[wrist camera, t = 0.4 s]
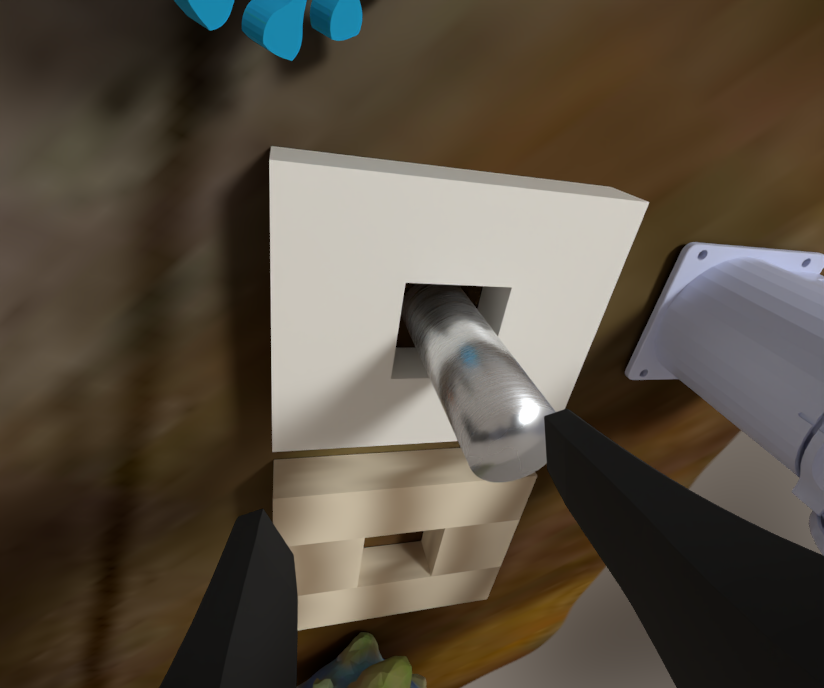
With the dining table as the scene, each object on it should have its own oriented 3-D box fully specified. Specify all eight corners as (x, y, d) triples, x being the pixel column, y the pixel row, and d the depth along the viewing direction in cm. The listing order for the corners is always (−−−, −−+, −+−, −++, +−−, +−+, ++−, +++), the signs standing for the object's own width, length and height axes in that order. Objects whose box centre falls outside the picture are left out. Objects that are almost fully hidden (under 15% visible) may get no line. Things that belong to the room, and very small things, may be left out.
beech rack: (518, 444, 27) (537, 476, 25) (474, 565, 33) (487, 599, 31) (273, 459, 23) (272, 499, 21) (274, 593, 29) (274, 634, 27)
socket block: (610, 186, 19) (649, 202, 17) (532, 404, 25) (554, 435, 23) (271, 146, 16) (269, 159, 14) (273, 414, 22) (272, 452, 20)
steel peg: (470, 277, 20) (577, 404, 13) (457, 335, 22) (546, 478, 14) (406, 274, 19) (481, 408, 12) (397, 334, 21) (458, 486, 13)
